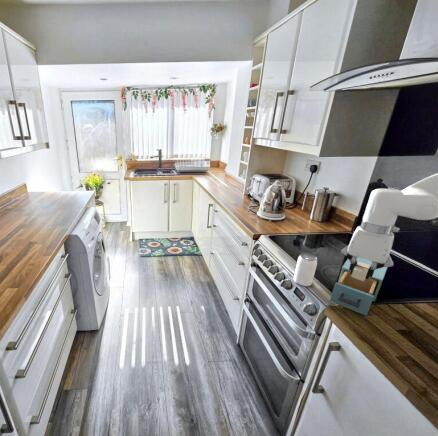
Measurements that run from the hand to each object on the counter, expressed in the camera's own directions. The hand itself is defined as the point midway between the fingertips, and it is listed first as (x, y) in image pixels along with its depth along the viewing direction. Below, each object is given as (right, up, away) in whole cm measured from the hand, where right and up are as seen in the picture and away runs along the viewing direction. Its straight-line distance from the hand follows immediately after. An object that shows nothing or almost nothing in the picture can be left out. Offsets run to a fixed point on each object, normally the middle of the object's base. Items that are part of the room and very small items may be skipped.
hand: (359, 274), depth 84 cm
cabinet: (+9, -7, +11) cm, 16 cm away
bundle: (0, 0, 0) cm, 0 cm away
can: (-11, -7, +15) cm, 19 cm away
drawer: (-2, -10, +1) cm, 11 cm away
